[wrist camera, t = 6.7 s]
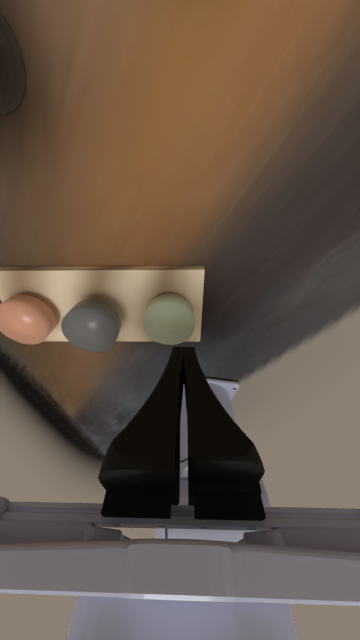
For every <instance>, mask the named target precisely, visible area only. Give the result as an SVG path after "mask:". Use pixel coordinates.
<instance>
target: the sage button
mask: <svg viewBox="0 0 360 640" xmlns="http://www.w3.org/2000/svg"><path fill="white" fill-rule="evenodd" d="M143 326H144V330H145V332H146V333H147V335H148V336H149V337H150V338H151V339H153V340H154V341H156V342H158V343H161V344H165V345H175V344H179V343H182V342H184V341H186V340H187V339H188V338H190V336H191V335H192V334H193V332H194V328H195V321H194V310H193V308H192V306H191V304H190V303H189V302H188V301H187V300H186V299H184V298H183V297H181V296H178V295H174V294H164V295H160V296H158V297H156V298H154V299H153V300H152V301H151V302H150V303H149V305H148V307H147V310H146V313H145V317H144V320H143Z"/></svg>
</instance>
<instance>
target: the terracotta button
mask: <svg viewBox="0 0 360 640" xmlns="http://www.w3.org/2000/svg"><path fill="white" fill-rule="evenodd" d="M55 327H56V317H55V315H54V313H53V311H52V310H51V309H50V308H49V307H48V306H47V305H46V304H45V303H44V302H42V301H40V300H39V299H37V298H35V297H32V296H29V295H22V294H19V295H14V296H11V297H10V298H8V299H7V300H5V301H4V302H2V303H1V304H0V331H1V332H2V333H3V334H4V335H6V336H7V337H9V338H11V339H13V340H15V341H17V342H20V343H24V344H38V343H41V342H42V341H44V340H45V339H46V337H47V336H48V335H49V334H50V333H51V332H52V331H53V330H54V328H55Z"/></svg>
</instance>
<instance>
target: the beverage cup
mask: <svg viewBox="0 0 360 640" xmlns="http://www.w3.org/2000/svg"><path fill="white" fill-rule="evenodd" d="M24 92H25V69H24V65H23V60H22V55H21V52H20V49H19V47H18V45H17V42H16V40H15V37H14V35H13V32H12V31H11V29H10V27H9V26H8V24H7V23H6V21H5V19H4V18H3V16H2V15H1V13H0V114H6V113H10V112H13V111H14V110H15V109H16V108H17V107H18V106H19V105H20V104H21V102H22V99H23V95H24Z"/></svg>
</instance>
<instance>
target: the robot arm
mask: <svg viewBox="0 0 360 640" xmlns="http://www.w3.org/2000/svg"><path fill="white" fill-rule="evenodd" d="M238 388H239V383H238V382H233V381H225V380H217V379H209V378H205V376H204V374H203V372H202V369H201V367H200V365H199V362H198V360H197V357H196V353H195V348H193V347H174V348H173V349H172V353H171V356H170V359H169V361H168V364H167V366H166V368H165V370H164V373H163V375H162V376H161V378H160V380H159V382H158V384H157V385H156V387H155V389H154V390H153V392H152V394H151V395H150V397H149V398H148V399H147V401H146V402H145V404H144V405H143V406H142V408H141V409H140V410H139V412H138V413H137V414H136V415H135V416H134V418H133V419H132V420H131V421H130V422H129V424H128V425H127V426H126V427H125V428H124V429H123V430H122V431H121V432H120V433H119V434H118V436H117V437H116V438H115V439H114V440H113V441H112V442H111V444H110V446H109V448H108V450H107V453H106V455H105V457H104V460H103V463H102V466H101V470H100V474H99V477H98V478H99V481H100V483H101V484H102V485H103V487H104V488H105V489H106V494H105V498H104V502H103V504H97V503H96V504H95V503H48V502H47V503H45V502H9V500H8V499H6V498H4V497H0V593H20V594H44V595H70V596H77V598H76V602H75V606H74V610H73V614H72V618H71V621H70V625H69V629H68V633H67V637H66V640H298V636H297V632H296V628H295V623H294V619H293V615H292V611H291V607H290V603H291V604H320V605H322V604H323V605H352V606H360V509H336V508H289V507H287V508H286V507H271V506H270V502H269V499H268V495H267V492H266V489H265V486H264V484H263V481H262V480H261V478H262V476H263V475H264V471H265V470H264V467H263V464H262V461H261V459H260V456H259V454H258V452H257V449H256V447H255V445H254V444H253V442H252V441H251V440H250V439H249V438H248V437H247V436H246V434H245V433H244V432H243V431H242V430H241V429H240V428H239V426H238V425H237V424H236V423H235V420H234V415H233V410H232V405H231V401H232V399H233V397H234V395H235V393H236V392H237V390H238ZM102 527H124V528H155V539H130V538H128V537H125V536H123V535H122V533H121V530H115V529H109V528H102Z"/></svg>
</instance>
